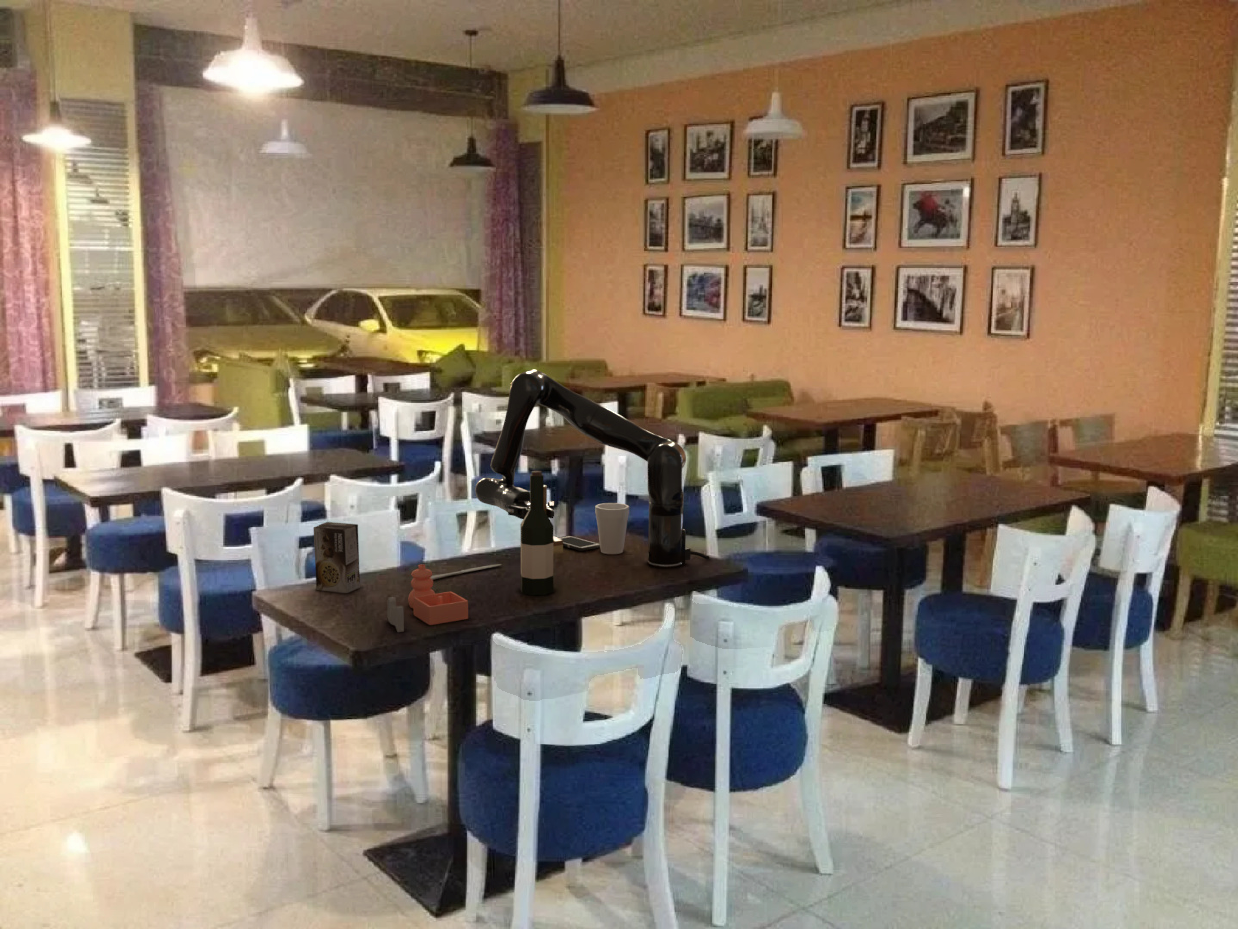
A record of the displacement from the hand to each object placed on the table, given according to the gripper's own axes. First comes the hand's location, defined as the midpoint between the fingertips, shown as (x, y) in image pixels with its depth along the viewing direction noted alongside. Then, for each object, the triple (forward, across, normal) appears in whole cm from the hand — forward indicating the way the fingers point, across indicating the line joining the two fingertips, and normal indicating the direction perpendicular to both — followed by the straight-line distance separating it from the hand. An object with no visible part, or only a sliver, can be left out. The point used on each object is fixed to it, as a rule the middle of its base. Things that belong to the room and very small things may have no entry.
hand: (546, 514), depth 294 cm
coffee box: (-16, -50, +17) cm, 55 cm away
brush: (0, 0, +9) cm, 9 cm away
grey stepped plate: (+19, -46, +17) cm, 53 cm away
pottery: (+13, -36, +17) cm, 42 cm away
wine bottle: (+8, -6, +17) cm, 20 cm away
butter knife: (-16, -16, +17) cm, 29 cm away
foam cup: (-19, +30, +17) cm, 39 cm away
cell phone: (-30, +23, +17) cm, 42 cm away
